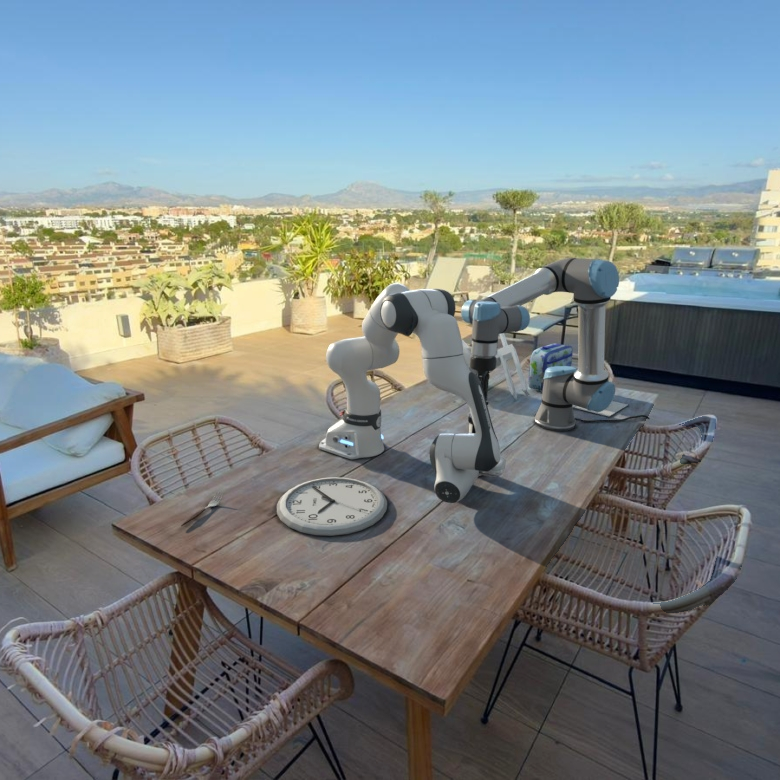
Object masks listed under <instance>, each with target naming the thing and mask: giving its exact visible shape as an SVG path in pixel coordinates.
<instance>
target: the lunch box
mask: <svg viewBox="0 0 780 780" xmlns="http://www.w3.org/2000/svg"><path fill="white" fill-rule="evenodd" d="M573 356H574V355H573V347H572V346H571V345H566V344H560V343H551V344H548V345H544V346H541V347H538V348H536V349H534V350H533V351H532V353H531V355H530V359H529V370H528V371H529V372H528V389H531V390H536V391H541V392H542V391H543V381H544V379H543V378H544V375H545V370H546V369H547V368H549V367H555V366H571V367H572V365H573V363H572V362H573Z"/></svg>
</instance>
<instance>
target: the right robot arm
mask: <svg viewBox="0 0 780 780" xmlns="http://www.w3.org/2000/svg"><path fill="white" fill-rule="evenodd" d="M619 285H620V274H619V270H618V268H617V266H616V265H615V264H614V263H613V262H612V261H610V260H604V259H600V258H578V257H566V258H563V259H558V260H556V261H553V262H551V263H548V264H545V265H544V266H542V267H539V268H537V269H536V270H535V272H534V274H531V275H530V276H527V277H525V278H523V279H521V280H519V281H517V282H515V283H513V284H511V285H509V286H507V287H505V288H503V289H501V290H499V291H496V292H495V293H493V294H490V295H488V296H486V297H484V298H482V299H479V300H477V299H468V300H467V301H465V302H464V303H463V305H462V306H461V309H460V316H461V318H462V319H461V320H462V321H463V322H464V323H466V324H470V325H471V327H472V328H471V329H472V330H471V342H470V343H469V345H468V346H469V347H472V348H471V354H472V355H471V358H470V367H471V368H472V369H473V370H477V373H476V375H477V376H478V378H479V380H480V383H481V386H482V389H483V392H484V395H485V399H486V403H487V406H489V404H490V403H489V401H488V389H489V380H490V373H489V371H492V370H493V371H495V370H496V369H497V368H496V359H497V358H496V357H495V356H496V355H497V350H498V349H499V348H498V347H499V336H500V335H499V334H501V333H504V334H507V333H518V332H521V331H524V330H526V329H527V328H528V326H529V325H530V321H531V314H530V312H529V310H528V309H527V307H524V305H526V304H527V303H529V302H532V301H533V300H535V299H537V298H540V297H542V296H543V295H544V296H549V295H552V294H554V293H568V294H573V302H574V304H576V306H577V307H578V308H577V309H578V310H577V313H578V314H577V315H578V316H577V317H578V320H577V321H578V322H577V324H578V325H577V327H578V328H577V331H578V333H577V335H578V336H577V341H578V343H577V353H578V354H577V361H578V362H577V367H576V366H572V365H571V366H555V367H549V368H547V369H546V370H545V375H544V378H543V379H544V381H543V391H541V392H542V394H541V402H540V405H539V407H538V410H537V411H536V413H535V414H534V424H535V425H536V426H537V427H539V428H542V429H544V430H549V431H556V432H567V431H572V430H574V429H575V428H576V421H577V422H582V423H604V422H607V423H616V422H617V423H618V422H624V421H628V420H632V419H637V418H645V419H647V420H650V419H651V418H650V417H649V416H648V415H645V414H638V415H633V416H632V415H631V416H628V417H625V418H619V419H581V418H578V417H576V416H575V413H574V407H576V406H579V407H582V408H585V409H587V410H589V411H595V412H601V411H603V410H605V409H606V408H607V407H608V406H609V405H610V403H611V402H612V401H614V397H615V394H616V385H615V383H614V382H612V381H610V380H609V372H608V371H607V370H605V346H606V345H605V344H606V343H605V342H606V339H605V338H606V305H607V304H608V303H609V302H610V301H611V300H612V299H611V298H612V297H613V296H614V295H615V294H616V293H617V291H618V287H619ZM495 368H496V369H495ZM493 371H492V372H493ZM573 406H574V407H573ZM472 433H476V431H475V427H474V424H472Z"/></svg>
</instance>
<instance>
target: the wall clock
mask: <svg viewBox="0 0 780 780" xmlns="http://www.w3.org/2000/svg"><path fill="white" fill-rule="evenodd" d="M387 509H388V500H387V498H386V496H385V494H384V493H383V492H382V491H381V490H380V489H379V488H377V487H376V486H374V485H372V484H371V483H369V482H365V481H362V480H359V479H355V478H349V477H338V476H337V477H335V476H333V477H332V476H331V477H322V478H317V479H312V480H307V481H305V482H302V483H299V484H297V485H295V486H293V487H292V488H290V489H288V490H287V491H286V492H285V493H284V494H283V495H281V496H280V498H279V499H278V502H277V503H276V515H277V517H278V518H279V520H280V521H281V522H282V523H283V524H285V525H286V526H287V527H288V528H290V529H293V530H295V531H297V532H299V533H303V534H308V535H312V536H327V537H328V536H329V537H331V536H332V537H333V536H342V535H350V534H352V533H356V532H361V531H363V530H366V529H368V528H369V527H372V526H373V525H375V524H376V523H378V522H379V521H380V520H381V519H382V518H383V517H384V516H385V514H386V512H387Z"/></svg>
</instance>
